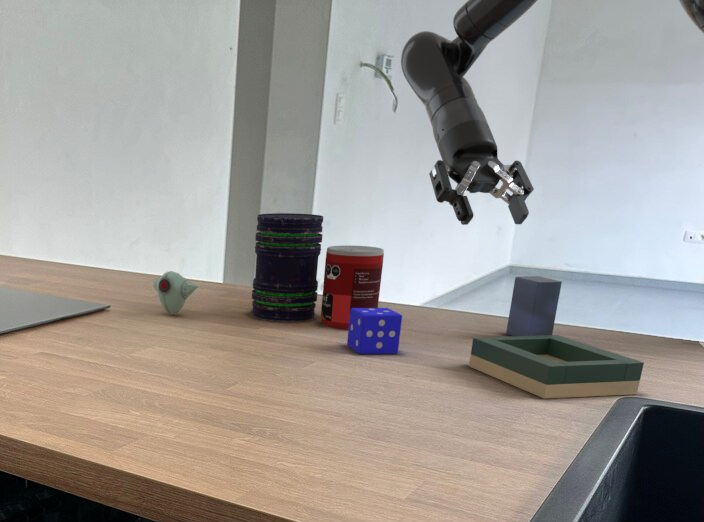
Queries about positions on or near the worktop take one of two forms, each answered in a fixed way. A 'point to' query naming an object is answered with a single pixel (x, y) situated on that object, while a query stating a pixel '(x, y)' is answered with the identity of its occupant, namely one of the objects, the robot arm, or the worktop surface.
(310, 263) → the storage jar
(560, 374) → the tray
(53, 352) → the worktop surface
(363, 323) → the die
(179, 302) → the robot head
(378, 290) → the canned food
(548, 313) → the block
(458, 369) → the worktop surface
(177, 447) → the worktop surface
